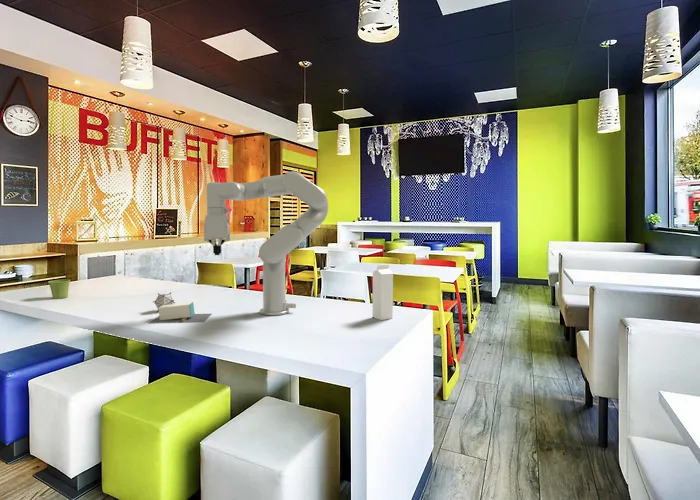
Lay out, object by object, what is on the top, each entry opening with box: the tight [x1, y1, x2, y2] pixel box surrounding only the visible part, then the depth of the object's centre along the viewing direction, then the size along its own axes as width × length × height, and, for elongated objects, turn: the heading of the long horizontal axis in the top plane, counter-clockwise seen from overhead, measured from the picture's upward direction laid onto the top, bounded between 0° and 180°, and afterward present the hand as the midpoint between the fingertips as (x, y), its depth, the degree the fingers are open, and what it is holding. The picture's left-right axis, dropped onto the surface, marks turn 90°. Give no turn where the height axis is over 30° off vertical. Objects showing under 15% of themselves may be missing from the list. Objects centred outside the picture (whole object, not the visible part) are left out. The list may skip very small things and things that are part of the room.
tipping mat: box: [147, 313, 213, 325], centre depth 160 cm, size 21×14×1 cm, turn 97°
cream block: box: [157, 301, 196, 320], centre depth 160 cm, size 5×5×12 cm
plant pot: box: [47, 279, 71, 300], centre depth 201 cm, size 9×9×9 cm
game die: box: [152, 292, 176, 313], centre depth 174 cm, size 9×8×10 cm
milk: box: [372, 264, 394, 321], centre depth 163 cm, size 6×6×22 cm
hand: (217, 254), depth 170 cm, fingers closed
